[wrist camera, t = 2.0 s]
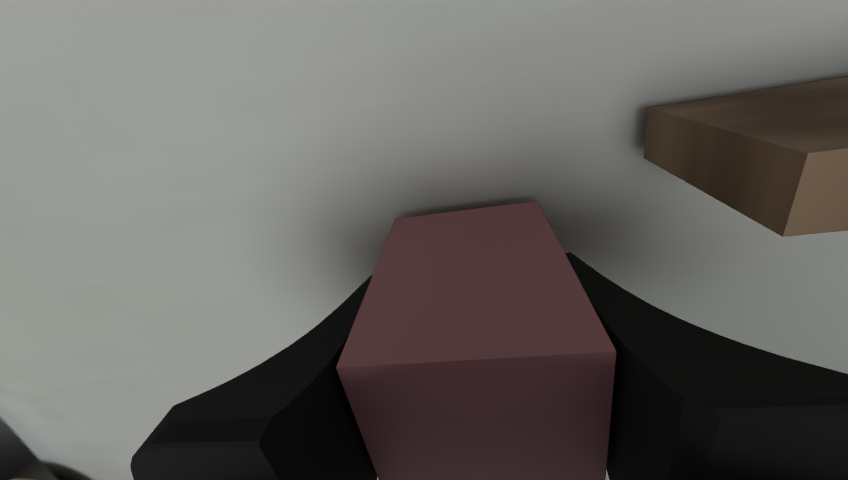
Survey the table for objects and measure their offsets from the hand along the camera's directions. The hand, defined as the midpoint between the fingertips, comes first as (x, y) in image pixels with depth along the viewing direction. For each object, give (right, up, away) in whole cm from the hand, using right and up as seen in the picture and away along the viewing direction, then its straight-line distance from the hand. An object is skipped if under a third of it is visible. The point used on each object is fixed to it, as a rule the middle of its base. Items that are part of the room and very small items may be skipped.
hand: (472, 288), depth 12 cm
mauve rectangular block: (0, +1, +2) cm, 2 cm away
